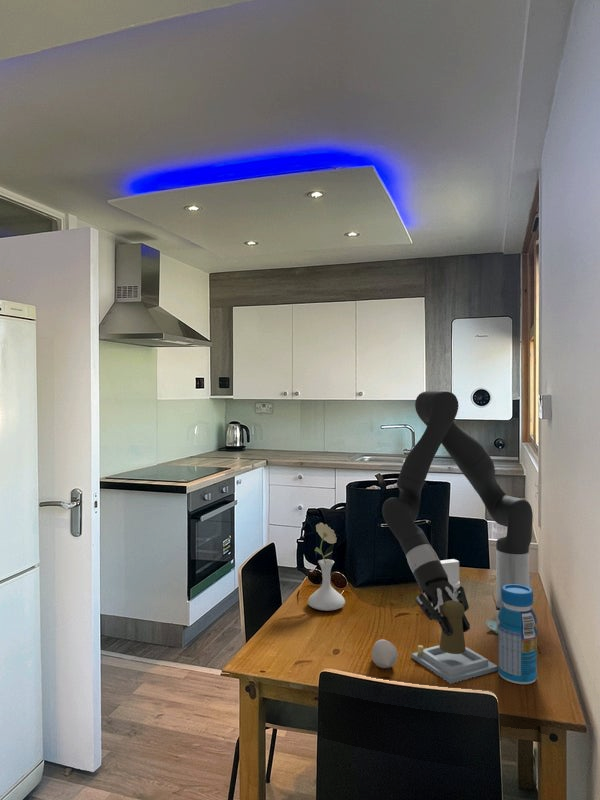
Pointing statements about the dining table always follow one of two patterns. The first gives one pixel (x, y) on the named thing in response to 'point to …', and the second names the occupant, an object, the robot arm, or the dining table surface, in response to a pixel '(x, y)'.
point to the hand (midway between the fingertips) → (458, 632)
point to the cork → (453, 628)
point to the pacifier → (494, 622)
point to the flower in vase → (326, 577)
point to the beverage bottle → (517, 635)
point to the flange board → (454, 663)
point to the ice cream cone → (384, 654)
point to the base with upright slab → (452, 571)
